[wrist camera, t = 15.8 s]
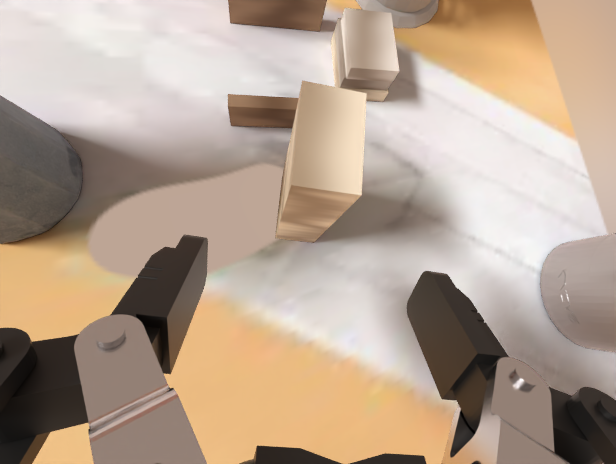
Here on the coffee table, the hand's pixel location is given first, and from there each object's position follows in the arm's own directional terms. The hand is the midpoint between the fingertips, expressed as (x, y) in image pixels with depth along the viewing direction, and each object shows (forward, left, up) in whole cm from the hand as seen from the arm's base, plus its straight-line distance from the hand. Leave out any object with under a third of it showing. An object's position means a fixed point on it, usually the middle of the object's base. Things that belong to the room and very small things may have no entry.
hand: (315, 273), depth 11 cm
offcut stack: (-7, -19, -11) cm, 23 cm away
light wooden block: (-1, -6, -11) cm, 13 cm away
